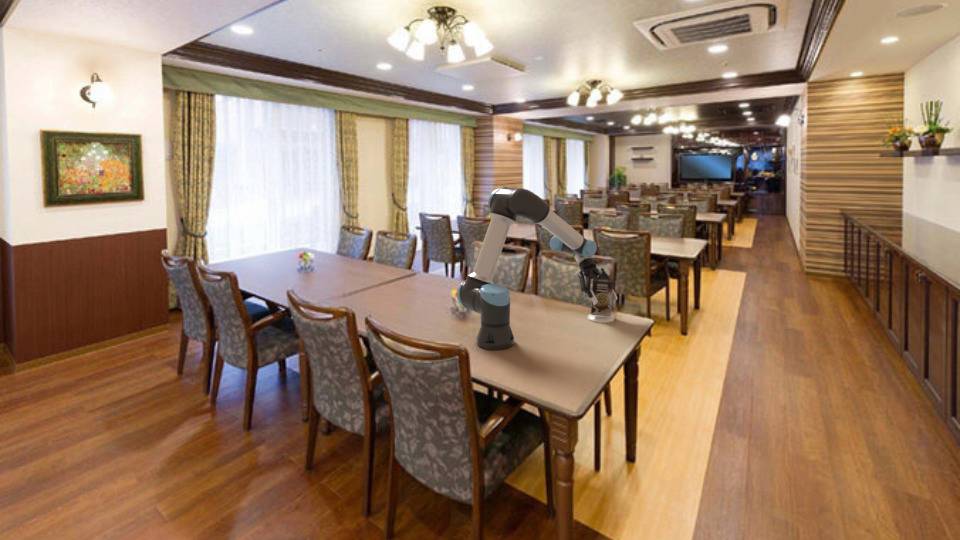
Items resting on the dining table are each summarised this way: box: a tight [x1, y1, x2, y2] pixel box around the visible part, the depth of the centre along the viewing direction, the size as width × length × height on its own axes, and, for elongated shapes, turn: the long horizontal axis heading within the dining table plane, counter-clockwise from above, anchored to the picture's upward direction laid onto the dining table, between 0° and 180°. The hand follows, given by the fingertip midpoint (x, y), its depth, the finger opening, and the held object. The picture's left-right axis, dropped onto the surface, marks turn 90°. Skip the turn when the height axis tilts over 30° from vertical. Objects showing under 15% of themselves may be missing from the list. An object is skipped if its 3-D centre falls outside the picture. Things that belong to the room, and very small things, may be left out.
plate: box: [587, 313, 615, 324], centre depth 225 cm, size 12×12×1 cm
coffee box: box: [590, 278, 614, 317], centre depth 223 cm, size 9×6×16 cm
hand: (605, 301), depth 221 cm, fingers closed on coffee box, 10 cm apart
